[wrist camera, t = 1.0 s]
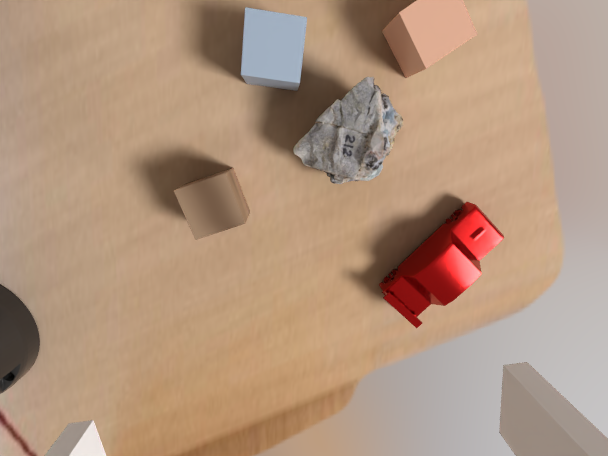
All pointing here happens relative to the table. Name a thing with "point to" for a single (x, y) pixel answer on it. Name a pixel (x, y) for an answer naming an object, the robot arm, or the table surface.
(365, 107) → the mineral specimen
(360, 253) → the table surface
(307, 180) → the table surface
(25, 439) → the table surface
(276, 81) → the slate-blue cube
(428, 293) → the toy car
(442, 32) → the salmon-pink cube
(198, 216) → the walnut cube
